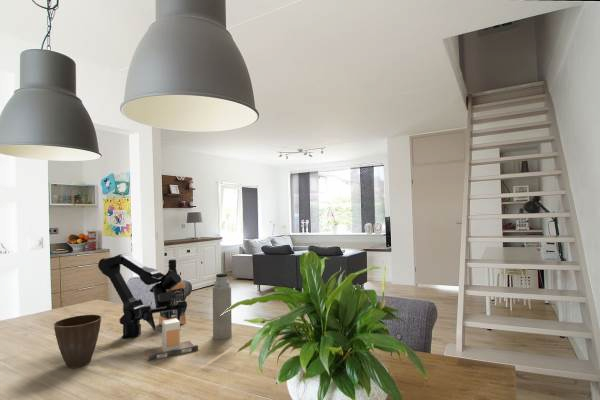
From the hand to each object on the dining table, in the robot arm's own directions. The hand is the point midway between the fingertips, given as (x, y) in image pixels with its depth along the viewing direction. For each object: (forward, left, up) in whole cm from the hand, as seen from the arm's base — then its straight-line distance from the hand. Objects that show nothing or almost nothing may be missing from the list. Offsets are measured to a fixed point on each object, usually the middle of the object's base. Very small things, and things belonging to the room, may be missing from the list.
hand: (166, 327), depth 147 cm
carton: (+4, -7, -7) cm, 11 cm away
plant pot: (-28, -13, -8) cm, 32 cm away
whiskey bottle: (-6, +33, -8) cm, 35 cm away
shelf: (+3, -6, -8) cm, 11 cm away
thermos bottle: (+22, +7, -8) cm, 24 cm away
